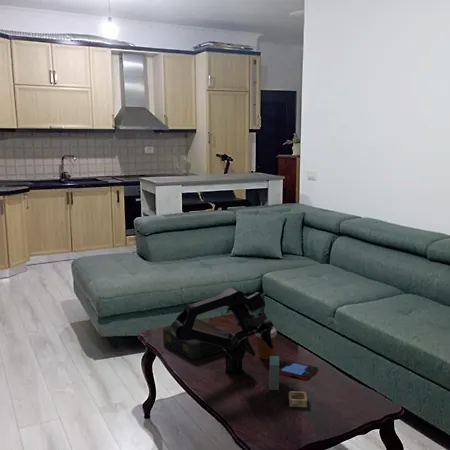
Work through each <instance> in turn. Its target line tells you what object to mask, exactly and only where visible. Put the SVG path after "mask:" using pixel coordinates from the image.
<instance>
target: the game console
mask: <svg viewBox="0 0 450 450" xmlns="http://www.w3.org/2000/svg"><path fill="white" fill-rule="evenodd" d="M318 368H319V367H317V366H312V365H309V364H304V363H300V362H297V361H296V362H295V361H292V360H287V359H285V360H284V361H283V362H280V363H279V376H288V377H294V378H295V377H296V378H298V379H299V380H303V381H304V380H305V381H306V380H308V379H309V378H310V377H312V376H313V375H314V374H315V373H316V372H317V371H318V370H319V369H318Z"/></svg>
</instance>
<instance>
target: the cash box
mask: <svg viewBox="0 0 450 450" xmlns="http://www.w3.org/2000/svg"><path fill="white" fill-rule="evenodd" d="M171 325H172V324H171ZM171 325H167V326H165V327H163V328H162V338H163V344H164V343H166V344H167V345H166V344H165V345H166V346H168V345H169V346H171V347H173V348H174V349H173V348H172V349H173V350H175V349H176V350H178V351H179V352H178V351H177V352H178V353H180V352H181V353H183V354H184V356H185V355H186V356H185V357H187V358H188V357H189V358H188V359H190V358H191V359H190V360H192V359H194V360H193V361H196V360H195V359H197V360H200V359H201V357H202V358H205V357H208V356H211V355H214V354H217V353H219V352H221V351H222V352H223V348H224V347H222V346H218V345H214V344H210V343H206V342H202V341H198V340H189V341H186V340H179V339H178V338H177V337H176V336H175V335H174V334H173V333H172V332H171ZM193 327H194V328H197V329H201V330H205V331H208V332H212V333H216V334H220V335H223V336H227V335H228V334H229V332H227V331H225V330H223V329H220V328H218V327H216V326H214V325H212V324H210V323H207V322H205V321H204V320H201V319H199V318H197V317H196V318H195V322H194V325H193ZM169 346H168V347H169ZM171 347H170V348H171ZM176 350H175V351H176ZM181 353H180V354H181ZM183 354H182V355H183ZM204 356H205V357H204ZM199 358H200V359H199Z"/></svg>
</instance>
